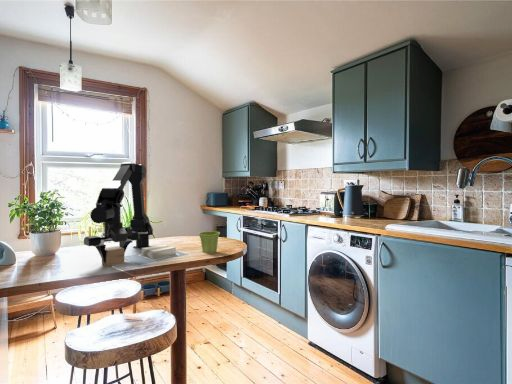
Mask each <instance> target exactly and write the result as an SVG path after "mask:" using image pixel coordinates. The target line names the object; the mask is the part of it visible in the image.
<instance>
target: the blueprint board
mask: <svg viewBox="0 0 512 384" xmlns="http://www.w3.org/2000/svg"><path fill="white" fill-rule="evenodd" d="M188 255H189V254H188V253H185V252H181V251H177V250H176V255H172V256H167V257H162V258H157V259H152V258H149V257H146V256H143V255H142V252H140V253H136V254H130V255H124V261H128V262H129V263H133V264H136V265H144V264H148V263H153V262H154V263H155V262H159V261H164V260H167V259H169V260H170V259H174V258H178V257H183V256H188Z"/></svg>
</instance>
